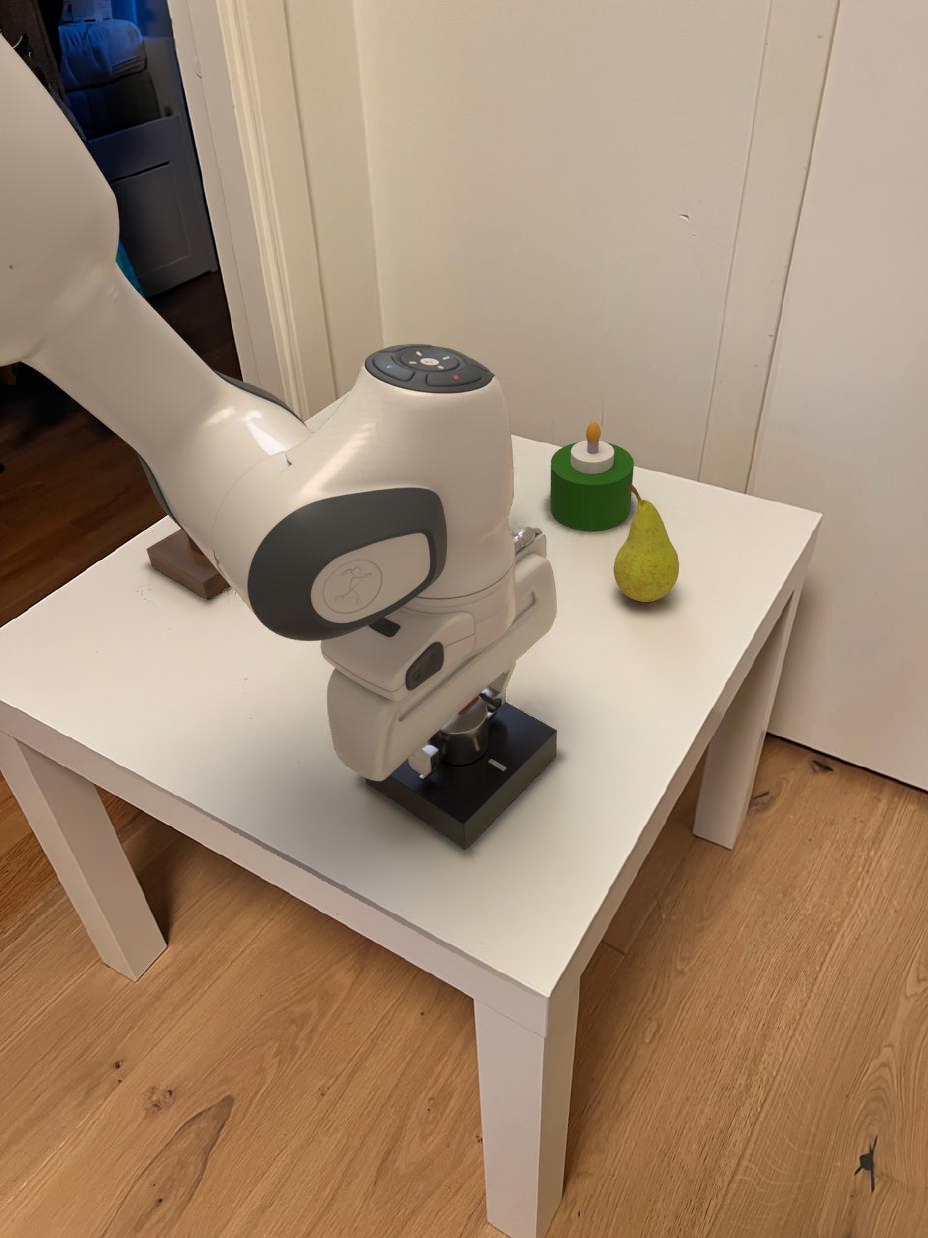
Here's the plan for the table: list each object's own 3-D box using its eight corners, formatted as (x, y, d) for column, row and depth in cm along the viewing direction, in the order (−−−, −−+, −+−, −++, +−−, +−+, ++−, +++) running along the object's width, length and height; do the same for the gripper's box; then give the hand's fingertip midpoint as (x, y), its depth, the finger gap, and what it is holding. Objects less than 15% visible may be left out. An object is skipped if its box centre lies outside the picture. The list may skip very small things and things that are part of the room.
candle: (586, 541, 93) (590, 453, 87) (534, 505, 99) (533, 420, 92) (647, 510, 97) (655, 424, 90) (593, 477, 102) (596, 393, 96)
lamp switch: (207, 600, 89) (198, 567, 87) (151, 566, 94) (140, 533, 91) (301, 540, 96) (294, 507, 93) (244, 510, 101) (236, 479, 98)
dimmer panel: (465, 850, 67) (463, 823, 65) (365, 782, 72) (360, 755, 70) (556, 756, 73) (557, 728, 71) (458, 699, 78) (456, 672, 76)
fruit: (687, 604, 85) (702, 493, 78) (631, 623, 84) (641, 512, 76) (653, 569, 90) (665, 461, 82) (599, 587, 88) (606, 477, 80)
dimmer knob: (463, 775, 68) (460, 740, 65) (418, 747, 70) (413, 712, 68) (500, 738, 70) (499, 703, 68) (456, 712, 73) (453, 677, 70)
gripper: (508, 500, 68) (511, 641, 77) (298, 655, 57) (331, 799, 66) (580, 530, 65) (575, 674, 74) (373, 701, 53) (397, 846, 62)
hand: (459, 734), depth 70 cm, fingers open, 6 cm apart
